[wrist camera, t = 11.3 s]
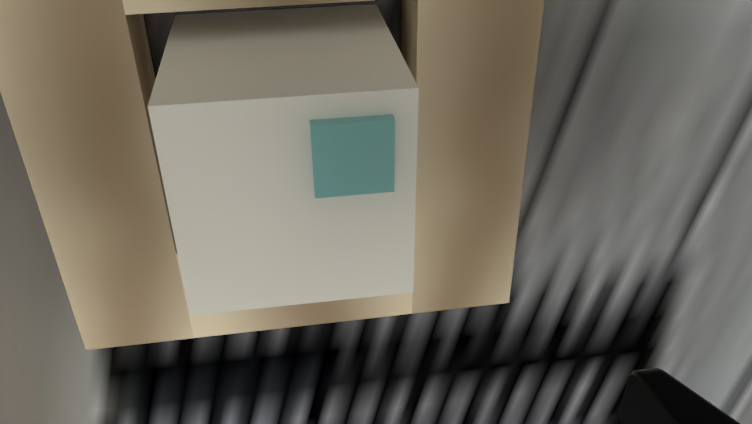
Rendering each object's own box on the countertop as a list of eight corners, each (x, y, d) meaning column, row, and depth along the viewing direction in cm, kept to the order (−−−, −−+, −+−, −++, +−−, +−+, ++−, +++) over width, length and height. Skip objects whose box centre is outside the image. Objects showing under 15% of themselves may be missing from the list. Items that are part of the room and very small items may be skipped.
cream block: (203, 187, 20) (189, 323, 15) (175, 14, 17) (145, 112, 12) (377, 173, 21) (415, 299, 16) (375, 3, 18) (421, 93, 13)
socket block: (98, 304, 21) (86, 350, 20) (-38, -148, 15) (-76, -136, 13) (490, 263, 23) (509, 302, 21) (531, -166, 16) (563, -157, 14)
